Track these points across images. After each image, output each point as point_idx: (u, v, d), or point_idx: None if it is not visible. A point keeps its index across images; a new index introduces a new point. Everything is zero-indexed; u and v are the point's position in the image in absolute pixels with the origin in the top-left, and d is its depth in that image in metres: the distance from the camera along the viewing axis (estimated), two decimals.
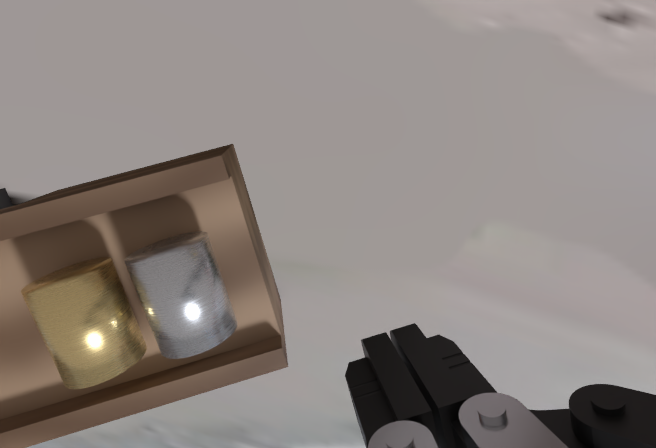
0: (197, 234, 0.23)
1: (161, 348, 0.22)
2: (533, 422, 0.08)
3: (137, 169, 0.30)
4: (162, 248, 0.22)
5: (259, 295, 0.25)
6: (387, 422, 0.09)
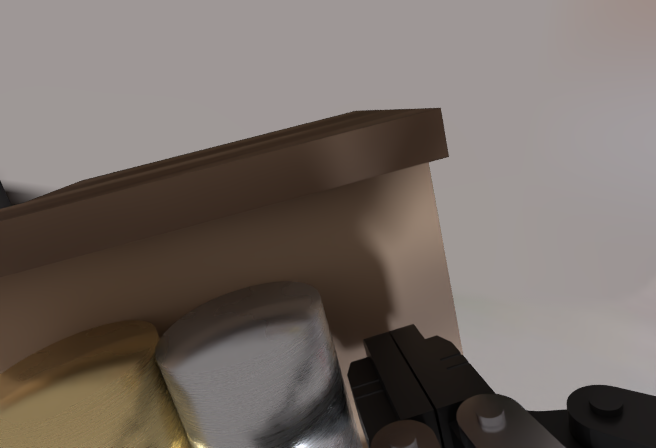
0: (300, 314, 0.10)
1: None
2: (531, 423, 0.08)
3: (210, 148, 0.19)
4: (230, 321, 0.11)
5: None
6: (389, 421, 0.09)
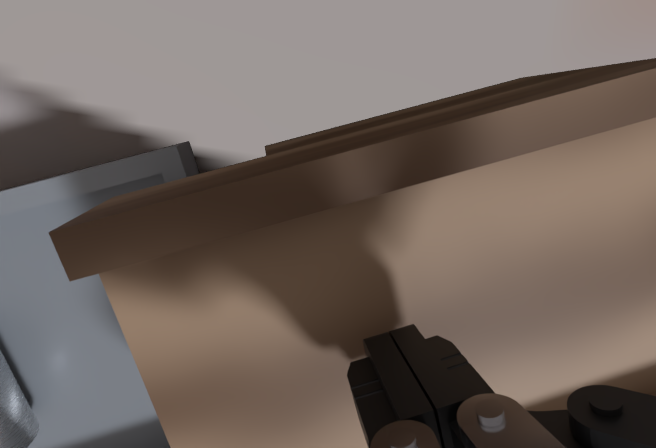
0: None
1: None
2: (531, 423, 0.08)
3: (390, 113, 0.19)
4: None
5: None
6: (389, 421, 0.09)
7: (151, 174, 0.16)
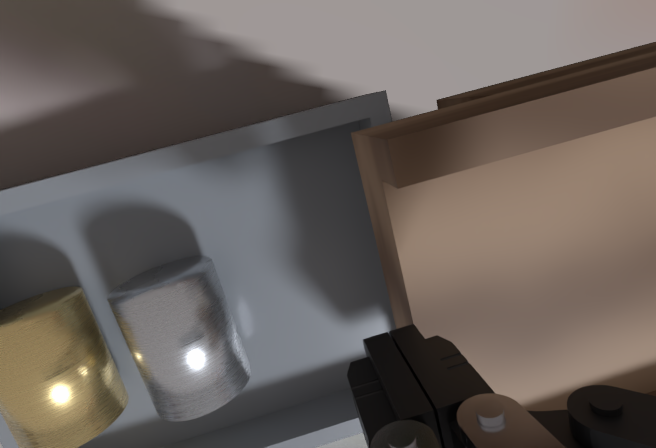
0: (138, 277, 0.18)
1: (239, 378, 0.18)
2: (531, 423, 0.08)
3: (558, 68, 0.20)
4: (166, 277, 0.17)
5: None
6: (389, 421, 0.09)
7: (360, 118, 0.17)
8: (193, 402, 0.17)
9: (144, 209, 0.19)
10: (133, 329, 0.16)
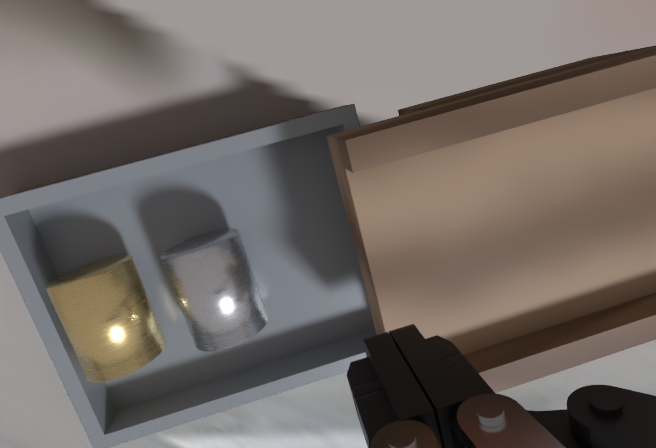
0: (172, 249, 0.23)
1: (265, 312, 0.24)
2: (531, 423, 0.08)
3: (493, 84, 0.25)
4: (204, 242, 0.23)
5: None
6: (389, 422, 0.09)
7: (335, 125, 0.22)
8: (242, 328, 0.22)
9: (169, 196, 0.24)
10: (197, 276, 0.21)
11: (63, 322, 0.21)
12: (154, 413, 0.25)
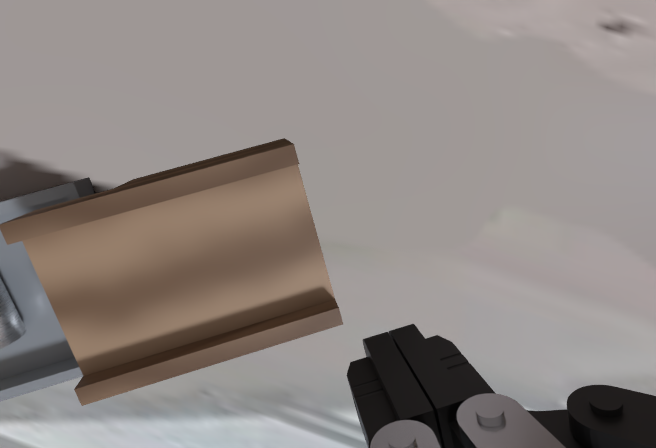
0: None
1: (15, 333, 0.32)
2: (531, 423, 0.08)
3: (203, 160, 0.34)
4: None
5: (317, 264, 0.30)
6: (389, 421, 0.09)
7: (61, 197, 0.31)
8: None
9: None
10: None
11: None
12: None
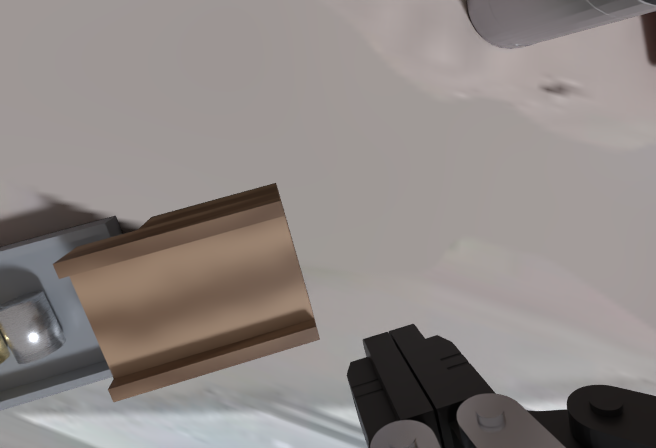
0: (4, 303, 0.40)
1: (59, 341, 0.40)
2: (531, 423, 0.08)
3: (209, 202, 0.42)
4: (20, 301, 0.39)
5: (300, 291, 0.37)
6: (389, 421, 0.09)
7: (94, 234, 0.39)
8: (36, 352, 0.39)
9: (7, 271, 0.41)
10: (6, 323, 0.38)
11: None
12: (1, 398, 0.42)
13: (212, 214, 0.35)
